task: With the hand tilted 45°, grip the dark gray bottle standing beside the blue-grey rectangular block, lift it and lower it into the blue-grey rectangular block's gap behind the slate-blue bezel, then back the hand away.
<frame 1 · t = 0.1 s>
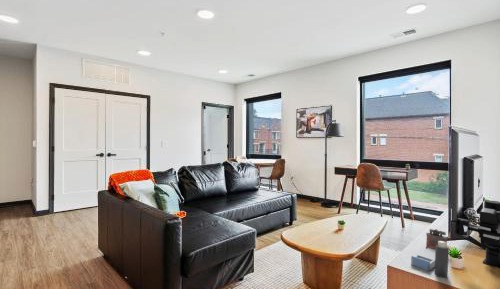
hand: (481, 237, 94), 17 cm above the tv stand, tool horizontal, fingers open, 9 cm apart
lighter: (435, 252, 121), on the tv stand
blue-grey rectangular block: (422, 265, 107), on the tv stand
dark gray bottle: (440, 274, 100), on the tv stand
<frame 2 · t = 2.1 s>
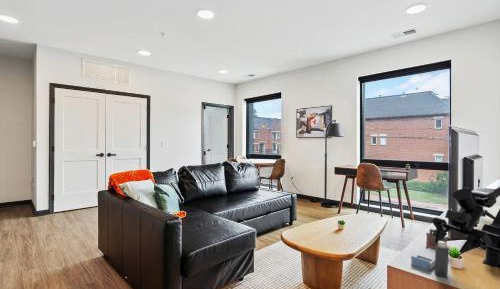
hand: (447, 247, 101), 10 cm above the tv stand, tool tilted 45°, fingers open, 9 cm apart
nothing on the tv stand moved.
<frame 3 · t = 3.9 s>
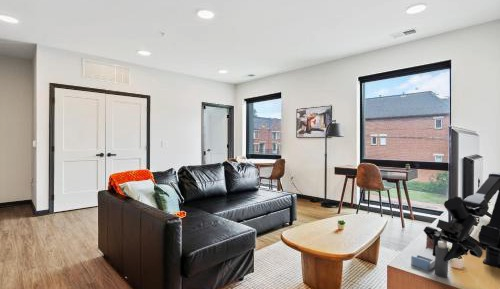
hand: (439, 258, 99), 7 cm above the tv stand, tool tilted 45°, fingers closed on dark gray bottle, 4 cm apart
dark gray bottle: (440, 274, 100), on the tv stand, touching gripper
everything else where it was.
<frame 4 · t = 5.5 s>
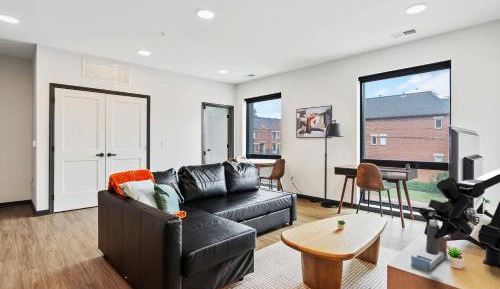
hand: (429, 236, 103), 14 cm above the tv stand, tool tilted 45°, fingers closed on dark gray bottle, 4 cm apart
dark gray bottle: (432, 252, 103), point 7 cm above the tv stand, touching gripper
everything else where it was.
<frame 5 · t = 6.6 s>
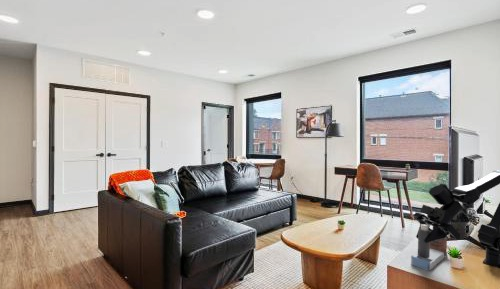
hand: (420, 239, 107), 10 cm above the tv stand, tool tilted 45°, fingers closed on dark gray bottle, 4 cm apart
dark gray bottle: (423, 255, 107), point 4 cm above the tv stand, touching gripper
everything else where it was.
when the fingers open (8 cm above the tv stand, at t = 7.4 s): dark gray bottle drops 1 cm, resting in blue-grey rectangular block.
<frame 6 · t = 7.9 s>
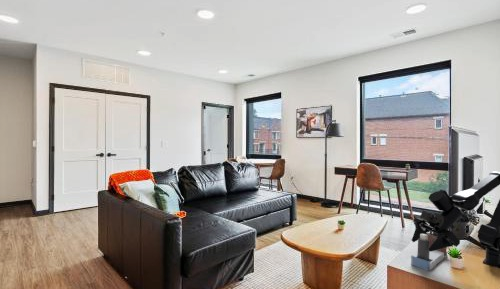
hand: (420, 245, 107), 8 cm above the tv stand, tool tilted 45°, fingers open, 9 cm apart
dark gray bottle: (422, 265, 107), resting in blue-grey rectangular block
everything else where it was.
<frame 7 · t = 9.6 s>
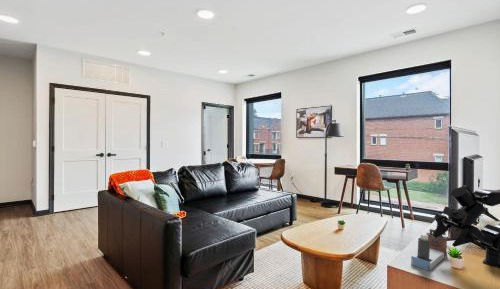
hand: (443, 241, 108), 10 cm above the tv stand, tool tilted 45°, fingers open, 9 cm apart
nothing on the tv stand moved.
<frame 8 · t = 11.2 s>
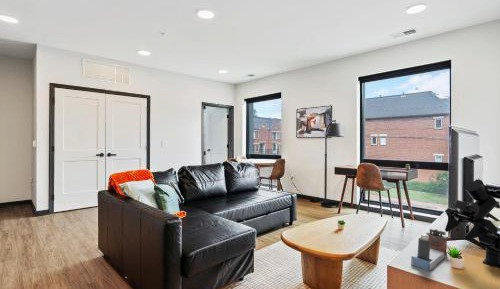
hand: (455, 235, 107), 13 cm above the tv stand, tool tilted 45°, fingers open, 9 cm apart
nothing on the tv stand moved.
at the end: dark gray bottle 0.0 cm off-centre on the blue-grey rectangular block, point 0.0 cm above the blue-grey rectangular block's base; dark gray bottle tilted 1°; the gripper is holding nothing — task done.
